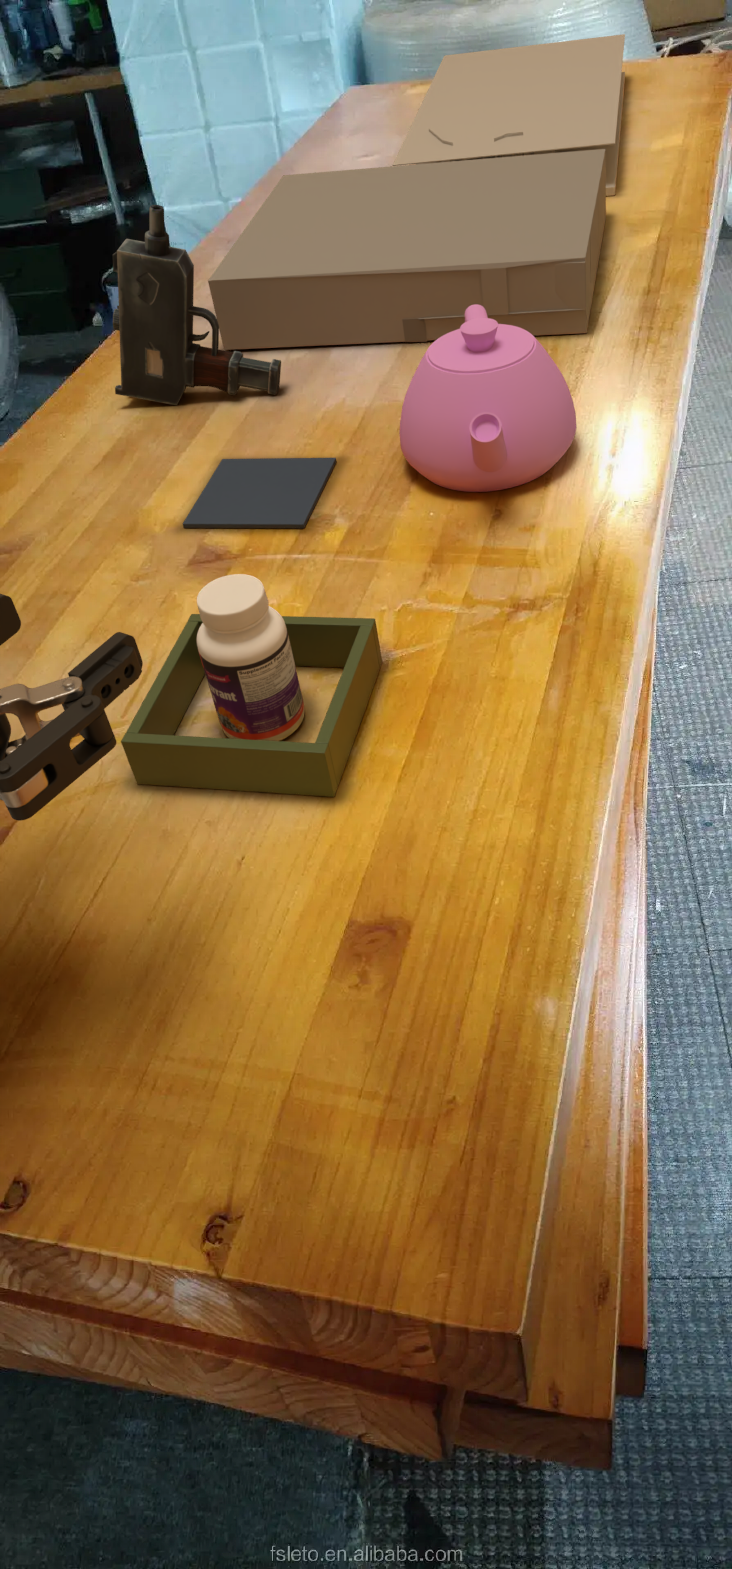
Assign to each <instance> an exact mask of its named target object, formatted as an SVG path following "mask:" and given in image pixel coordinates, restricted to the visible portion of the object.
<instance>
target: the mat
mask: <svg viewBox="0 0 732 1569" xmlns="http://www.w3.org/2000/svg"><path fill="white" fill-rule="evenodd" d="M336 465H337V457H274V458H273V457H270V458H269V457H268V458H265V457H264V458H263V457H262V458H222V459H221V460H220V462H219V464H218V465H217V467H216V469H215V470H214V472H213V473H212V475H211V477H209V478H210V479H208V482H207V483H206V485H205V487H204V488H203V490H202V492H201V493H200V494H199V496H198V498H197V499H196V501H195V503H194V504H193V506H192V508H191V509H190V511H189V513H188V514H187V515H186V517H185V519H184V521H183V522H182V527H183V528H184V529H305V528H306V526H307V523H308V521H309V519H310V517H311V515H312V513H313V511H314V510H315V507H316V505H317V503H318V502H319V499H320V497H321V495H322V492H323V491H324V488H325V487H326V484H327V482H328V480H329V478H330V476H331V475H332V472H333V470H334V468H335V466H336Z"/></svg>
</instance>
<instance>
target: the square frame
mask: <svg viewBox="0 0 732 1569" xmlns="http://www.w3.org/2000/svg"><path fill="white" fill-rule="evenodd" d="M281 616H282V618H283V620H284V622H285V625H286V628H287V632H288V636H289V641H290V645H291V649H292V654H293V658H294V663H295V667H315V668H341V669H342V668H343V670H342V671H341V672H342V673H341V675H340V676H339V677H340V678H339V680H338V683H337V685H336V688H335V691H334V693H333V695H332V697H331V700H330V703H329V706H328V708H327V711H326V713H325V716H324V719H323V722H322V724H321V726H320V729H319V731H318V734H317V737H316V740H315V742H303V741H302V742H301V741H286V740H285V741H284V740H281V741H266V740H248V739H230V738H229V737H227V738H226V737H209V736H192V735H191V736H190V735H175V733H176V732H177V729H178V727H179V726H180V723H181V721H182V719H183V718H184V716H185V714H186V712H187V710H188V708H189V706H190V704H191V702H192V700H193V698H194V696H195V694H196V692H197V689H198V688H199V686H200V685H201V683H202V680H203V678H204V676H206V675H205V671H204V668H203V665H202V661H201V658H200V655H199V652H198V647H197V633H198V630H199V628H200V626H201V624H202V623H203V622H202V620H201V617H200V613H191V614H190V615H189V617H188V619H187V621H186V623H185V625H184V626H183V629H182V630H181V632H180V634H179V635H178V637H177V639H176V641H175V643H174V644H173V647H172V649H171V650H170V652H169V653H168V655H167V657H166V660H165V661H164V663H163V665H162V666H161V668H160V670H159V672H158V674H157V675H156V678H155V679H154V681H153V683H152V685H151V687H150V688H149V690H148V692H147V693H146V696H145V697H144V699H143V701H142V702H141V705H140V706H139V708H138V709H137V712H136V713H135V715H134V717H133V718H132V721H131V722H130V724H129V726H128V728H127V730H126V732H125V733H124V735H123V737H122V739H121V740H120V743H121V746H122V748H123V751H124V753H125V756H126V759H127V761H128V764H129V766H130V769H131V772H132V775H133V777H134V780H135V782H136V784H137V785H149V786H150V785H151V786H164V787H178V788H179V787H180V788H193V789H194V788H195V789H207V790H208V789H209V790H210V789H211V790H225V791H239V792H241V791H242V792H253V793H270V794H283V795H284V794H285V795H298V796H299V795H301V796H314V797H329V798H334V797H336V794H337V791H338V788H339V785H340V782H341V779H342V777H343V774H344V771H345V769H346V765H347V763H348V760H349V758H350V754H351V751H352V748H353V746H354V743H355V740H356V738H357V734H358V732H359V729H360V726H361V723H362V721H363V717H364V715H365V712H366V710H367V707H368V703H369V701H370V697H371V695H372V692H373V689H374V687H375V684H376V681H377V678H378V675H379V672H380V669H381V667H382V663H383V657H382V651H381V646H380V639H379V632H378V627H377V621H376V618H372V617H371V618H370V617H369V618H368V617H335V616H333V617H331V616H294V615H281Z"/></svg>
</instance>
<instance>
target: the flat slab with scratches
mask: <svg viewBox="0 0 732 1569" xmlns="http://www.w3.org/2000/svg"><path fill="white" fill-rule="evenodd" d="M625 39H626V34H625V33H623V34H614V35H606V36H597V37H589V38H580V39H579V38H578V39H572V40H565V41H556V42H554V41H553V42H546V43H539V44H538V43H537V44H529V45H522V46H513V47H505V48H497V49H495V48H494V49H488V50H487V49H486V50H479V51H471V52H462V53H455V54H446V55H443V58H442V59H441V62H440V64H439V66H438V68H437V70H436V72H435V74H434V76H433V78H432V81H431V83H430V85H429V87H428V89H427V91H426V94H425V95H424V98H423V100H422V101H421V104H420V106H419V108H418V109H417V112H416V115H415V116H414V119H413V121H412V123H411V125H410V127H409V128H408V131H407V133H406V136H405V138H404V140H403V142H402V143H401V146H400V147H399V150H398V152H397V154H396V157H395V159H394V161H393V163H392V166H402V165H415V164H427V163H439V162H451V161H463V160H475V159H488V158H500V157H512V156H524V155H536V154H548V153H561V152H573V151H585V150H597V149H606V197H609V196H610V197H611V196H615V195H616V188H617V177H618V167H619V166H618V165H619V164H618V163H619V152H620V142H621V128H622V117H623V106H624V94H625V84H626V83H625V82H626V71H622V70H623V62H624V50H625V41H626V40H625Z"/></svg>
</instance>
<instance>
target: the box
mask: <svg viewBox="0 0 732 1569" xmlns="http://www.w3.org/2000/svg"><path fill="white" fill-rule="evenodd" d="M606 218H607V196H606V149H597V150H585V151H573V152H561V153H548V154H536V155H524V156H512V157H500V158H488V159H475V160H463V161H451V162H439V163H427V164H408V165H398V166H393V165H391V166H381V167H380V166H379V167H367V168H355V169H354V168H353V169H343V170H342V169H341V170H329V171H319V172H306V173H305V172H304V173H294V174H284V175H282V176H281V178H280V179H279V181H278V182H277V184H276V185H275V186H274V188H273V189H272V190H271V191H270V192H269V195H268V196H267V197H266V198H265V200H264V202H263V203H262V204H261V206H260V207H259V208H258V210H257V211H256V212H255V214H254V215H253V217H252V218H251V220H250V221H249V222H248V224H247V225H246V226H245V228H244V230H243V231H242V232H241V234H240V235H239V236H238V238H237V239H236V240H235V242H234V244H233V245H232V246H231V248H230V249H229V250H228V252H227V253H226V254H225V255H224V258H223V259H222V260H221V262H220V263H219V264H218V265H217V267H216V269H215V270H214V271H213V273H212V274H211V276H210V277H209V278H208V280H207V284H208V287H209V291H210V295H211V296H210V297H211V300H212V304H213V309H214V313H215V317H216V318H217V321H218V324H219V336H220V339H221V342H222V343H221V344H222V346H223V350H224V351H229V350H230V351H231V350H249V349H250V350H251V349H271V348H273V349H274V348H295V347H316V346H318V347H319V346H337V345H338V346H340V345H357V344H358V345H360V344H379V343H380V344H381V343H383V344H384V343H401V342H403V343H404V342H405V343H427V342H428V341H436V340H437V339H438V338H440V337H441V336H443V335H445V334H447V333H449V332H452V331H455V330H457V329H460V327H461V325H462V324H463V323H465V311H466V309H467V308H468V307H469V306H471V305H475V304H478V305H481V306H483V307H484V308H485V310H486V313H487V317H488V318H490V319H494V320H495V321H497V323H498V324H506V325H512V326H516V327H520V328H522V329H524V330H526V331H528V332H529V333H531V334H532V335H533V336H534V337H535V336H550V335H575V334H587V333H588V327H589V322H590V316H591V309H592V304H593V297H594V293H595V292H594V291H595V285H596V279H597V273H598V267H599V261H600V254H601V249H602V243H603V236H604V231H605V224H606V220H607V219H606Z"/></svg>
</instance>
